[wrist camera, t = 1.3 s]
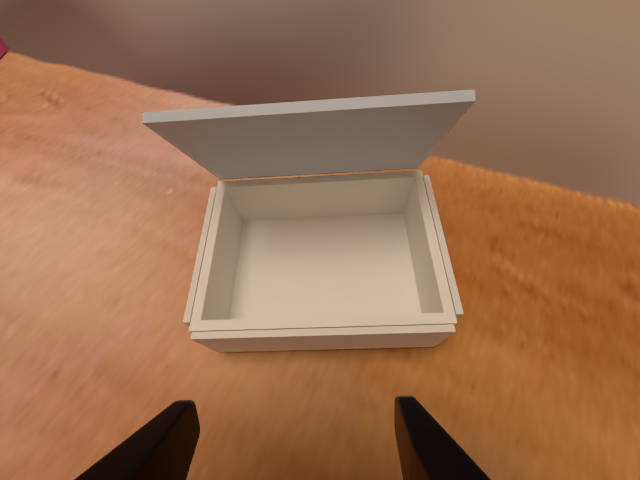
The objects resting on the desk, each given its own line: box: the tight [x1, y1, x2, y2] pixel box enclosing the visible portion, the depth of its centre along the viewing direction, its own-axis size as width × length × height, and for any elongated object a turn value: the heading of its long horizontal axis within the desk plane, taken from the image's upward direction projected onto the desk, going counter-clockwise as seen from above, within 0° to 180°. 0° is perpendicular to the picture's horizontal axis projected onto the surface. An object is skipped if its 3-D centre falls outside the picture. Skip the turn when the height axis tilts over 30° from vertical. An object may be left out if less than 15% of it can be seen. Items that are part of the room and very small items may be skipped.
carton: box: [183, 170, 463, 352], centre depth 22 cm, size 11×16×5 cm
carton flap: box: [143, 90, 475, 179], centre depth 17 cm, size 9×14×1 cm
